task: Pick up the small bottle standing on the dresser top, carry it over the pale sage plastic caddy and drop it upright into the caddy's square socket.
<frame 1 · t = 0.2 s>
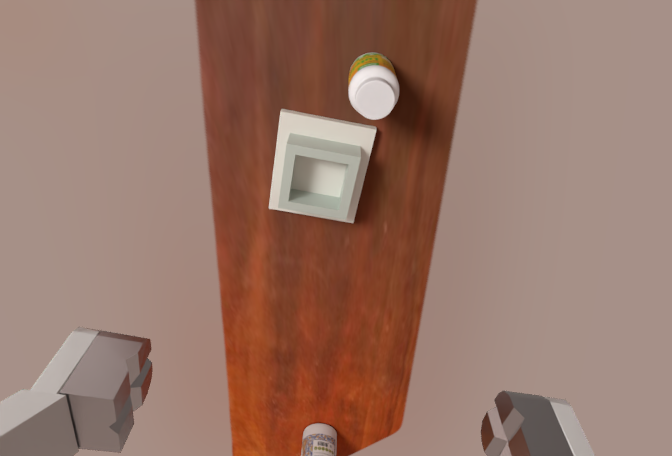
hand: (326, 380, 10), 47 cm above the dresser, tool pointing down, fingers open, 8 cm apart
supplement bottle: (371, 75, 53), on the dresser
caddy: (319, 168, 59), on the dresser
bath foam: (320, 431, 92), on the dresser
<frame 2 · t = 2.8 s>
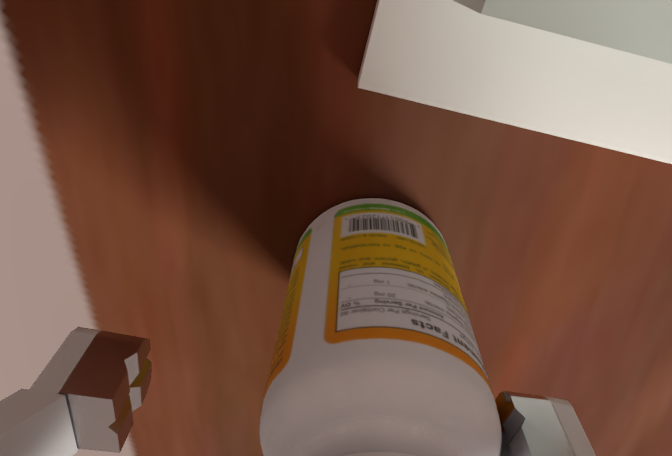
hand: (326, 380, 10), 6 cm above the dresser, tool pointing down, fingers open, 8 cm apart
supplement bottle: (370, 257, 16), on the dresser, touching gripper
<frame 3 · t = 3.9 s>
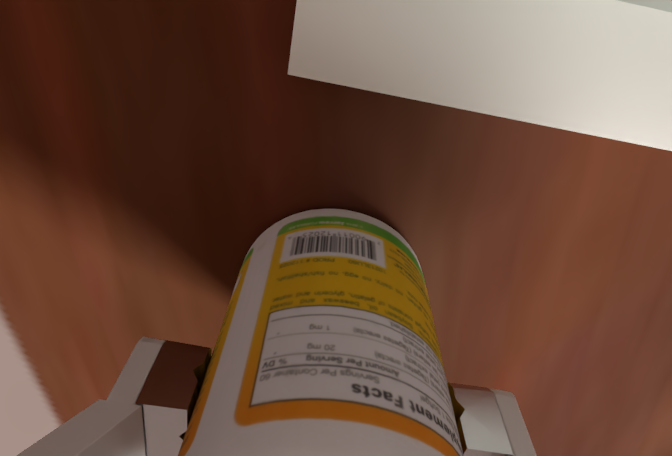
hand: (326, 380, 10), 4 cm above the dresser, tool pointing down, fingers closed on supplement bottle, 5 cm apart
supplement bottle: (332, 275, 13), on the dresser, touching gripper
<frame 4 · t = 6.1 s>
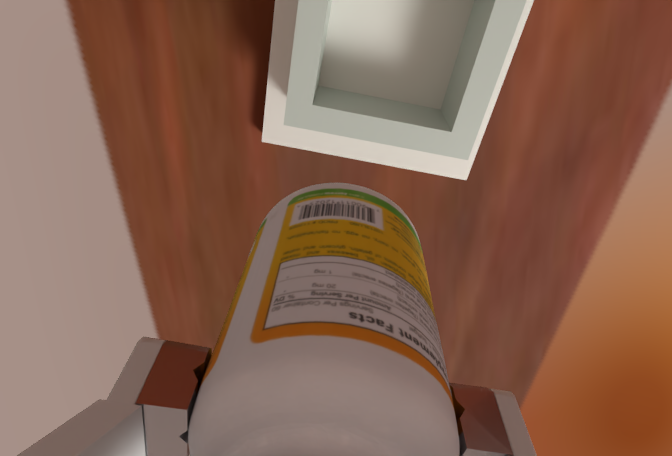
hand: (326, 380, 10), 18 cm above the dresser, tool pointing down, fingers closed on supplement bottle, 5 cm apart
supplement bottle: (338, 248, 15), point 12 cm above the dresser, touching gripper
caddy: (394, 28, 23), on the dresser
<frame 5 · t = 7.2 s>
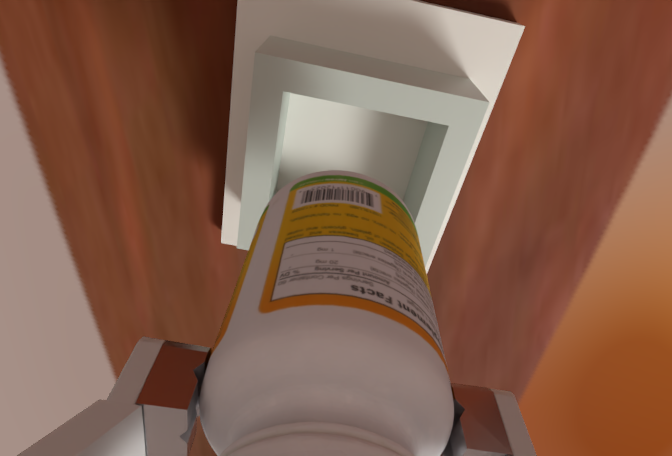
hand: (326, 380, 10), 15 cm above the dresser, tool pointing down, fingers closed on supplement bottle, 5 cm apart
supplement bottle: (337, 234, 15), point 9 cm above the dresser, touching gripper
caddy: (350, 143, 23), on the dresser
when the fingers open (7 cm above the dresser, at t = 8.4 s): supplement bottle stays where it is, resting on caddy.
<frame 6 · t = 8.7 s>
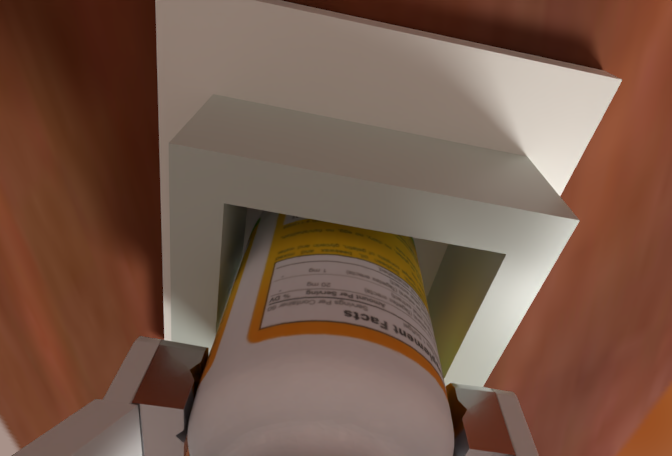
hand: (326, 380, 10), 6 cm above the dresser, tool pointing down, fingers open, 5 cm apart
supplement bottle: (332, 245, 15), point 1 cm above the dresser, touching caddy, gripper
caddy: (343, 236, 16), on the dresser
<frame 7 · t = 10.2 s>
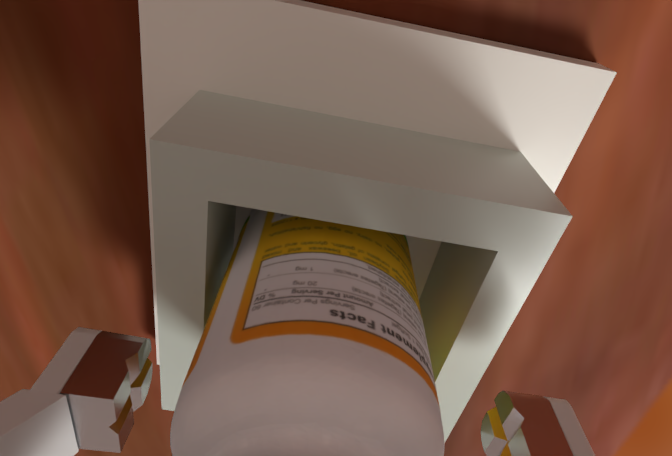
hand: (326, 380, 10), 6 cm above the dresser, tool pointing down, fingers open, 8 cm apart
supplement bottle: (324, 243, 15), point 1 cm above the dresser, touching caddy
caddy: (335, 234, 15), on the dresser
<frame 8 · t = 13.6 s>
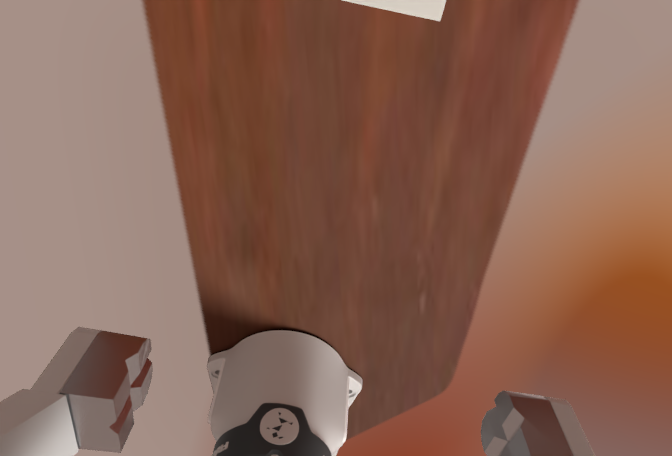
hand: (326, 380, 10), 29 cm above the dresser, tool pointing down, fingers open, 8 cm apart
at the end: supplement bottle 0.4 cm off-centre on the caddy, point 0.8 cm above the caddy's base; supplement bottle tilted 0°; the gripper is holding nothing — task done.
